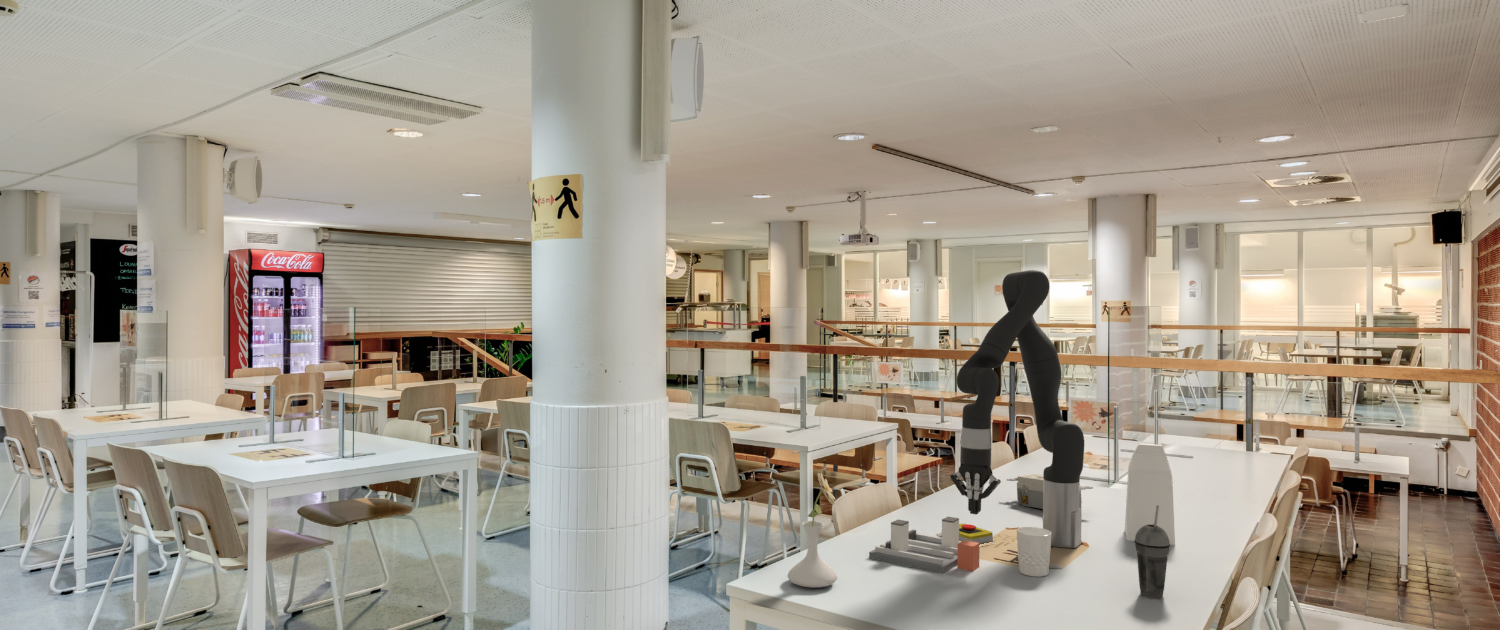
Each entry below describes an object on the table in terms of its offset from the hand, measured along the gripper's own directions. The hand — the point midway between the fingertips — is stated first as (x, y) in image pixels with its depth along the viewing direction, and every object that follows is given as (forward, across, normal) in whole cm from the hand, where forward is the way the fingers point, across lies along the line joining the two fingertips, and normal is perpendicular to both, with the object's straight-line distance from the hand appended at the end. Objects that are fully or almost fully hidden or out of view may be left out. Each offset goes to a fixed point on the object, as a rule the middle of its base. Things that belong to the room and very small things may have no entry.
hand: (974, 513), depth 210 cm
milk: (+11, -31, -50) cm, 60 cm away
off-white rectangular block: (+10, +6, 0) cm, 12 cm away
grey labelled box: (+11, +2, -68) cm, 69 cm away
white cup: (+12, -16, +2) cm, 20 cm away
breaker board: (+12, +11, +5) cm, 17 cm away
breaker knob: (+10, +15, +11) cm, 21 cm away
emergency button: (+12, +8, -16) cm, 22 cm away
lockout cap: (+12, -2, +8) cm, 14 cm away
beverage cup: (+11, -42, +2) cm, 43 cm away
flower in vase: (+12, +22, +41) cm, 48 cm away
